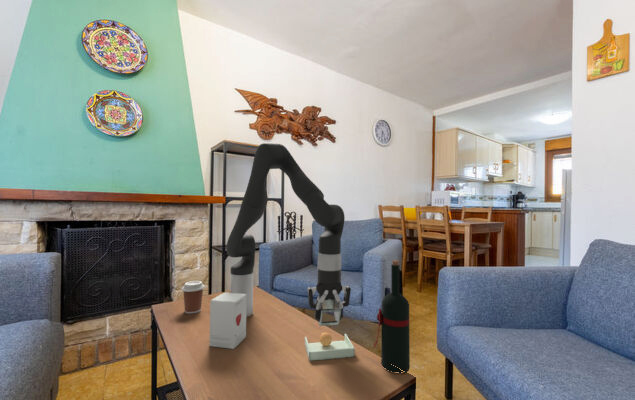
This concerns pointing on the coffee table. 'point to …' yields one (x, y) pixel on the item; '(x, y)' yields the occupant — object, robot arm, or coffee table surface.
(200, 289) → the coffee cup
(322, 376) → the coffee table surface
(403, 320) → the wine bottle
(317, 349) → the tray
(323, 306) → the grey hollow box
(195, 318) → the coffee table surface
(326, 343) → the ball
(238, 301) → the supplement box
